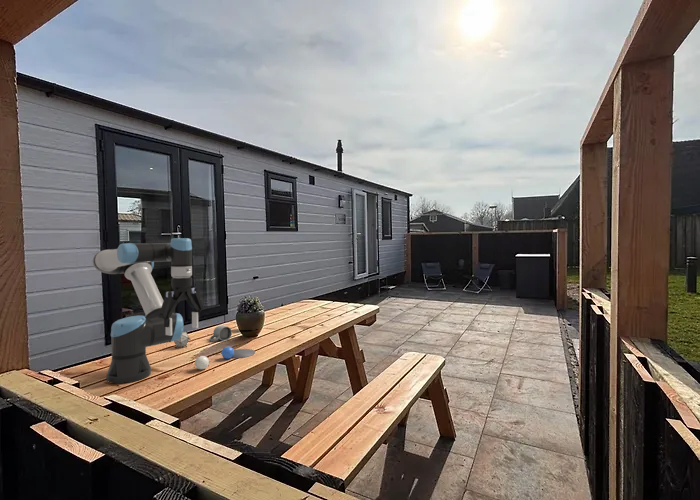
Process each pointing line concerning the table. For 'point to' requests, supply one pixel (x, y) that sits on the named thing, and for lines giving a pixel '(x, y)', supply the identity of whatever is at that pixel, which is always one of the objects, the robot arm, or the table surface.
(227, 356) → the blue ball
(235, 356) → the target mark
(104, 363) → the table surface
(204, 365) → the white ball
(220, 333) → the ceramic mug
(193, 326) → the robot arm
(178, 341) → the grey spiked polyhedron
